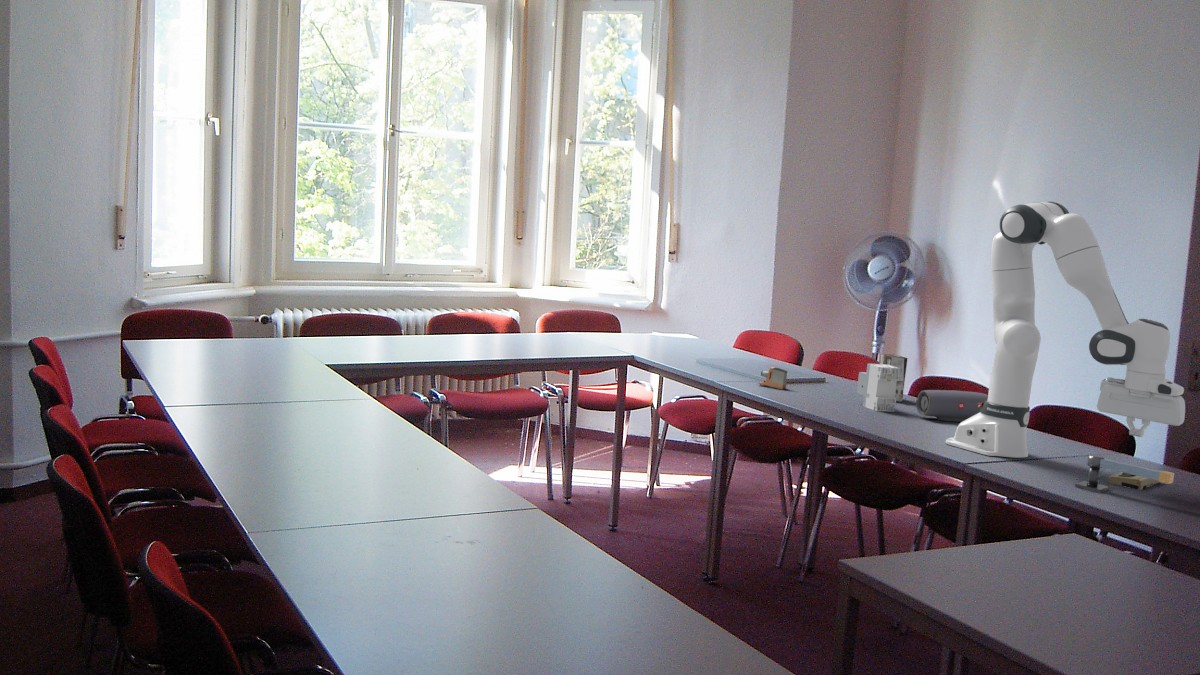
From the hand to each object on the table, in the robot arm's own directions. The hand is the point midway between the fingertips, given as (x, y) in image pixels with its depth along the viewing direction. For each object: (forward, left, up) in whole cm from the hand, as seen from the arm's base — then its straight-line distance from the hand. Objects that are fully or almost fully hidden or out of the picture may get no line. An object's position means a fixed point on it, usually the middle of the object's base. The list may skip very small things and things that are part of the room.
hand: (1136, 435), depth 264 cm
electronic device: (-134, +28, -13) cm, 137 cm away
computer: (0, +5, -14) cm, 15 cm away
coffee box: (-101, +55, -13) cm, 116 cm away
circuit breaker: (-94, +32, -13) cm, 100 cm away
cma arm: (+4, -15, -7) cm, 17 cm away
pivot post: (-4, -15, -13) cm, 20 cm away
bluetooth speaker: (-69, +40, -13) cm, 81 cm away
